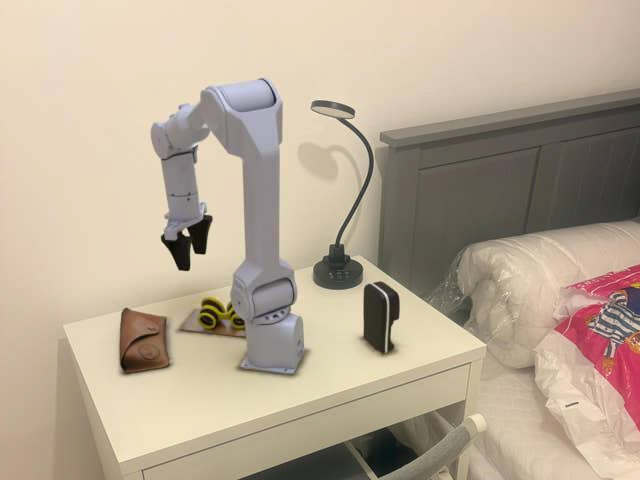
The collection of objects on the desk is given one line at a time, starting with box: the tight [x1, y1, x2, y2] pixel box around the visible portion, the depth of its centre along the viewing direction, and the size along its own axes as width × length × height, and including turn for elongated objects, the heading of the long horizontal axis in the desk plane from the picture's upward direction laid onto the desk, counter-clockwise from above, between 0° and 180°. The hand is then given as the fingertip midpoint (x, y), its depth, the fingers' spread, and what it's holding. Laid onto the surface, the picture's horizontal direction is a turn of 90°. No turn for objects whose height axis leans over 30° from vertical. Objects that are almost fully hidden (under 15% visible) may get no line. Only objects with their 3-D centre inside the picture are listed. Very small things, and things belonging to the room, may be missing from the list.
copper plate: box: [179, 308, 246, 339], centre depth 124 cm, size 13×8×1 cm, turn 76°
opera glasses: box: [198, 296, 245, 329], centre depth 122 cm, size 10×5×5 cm, turn 88°
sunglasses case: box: [119, 307, 171, 374], centre depth 117 cm, size 18×7×7 cm
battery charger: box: [362, 280, 401, 354], centre depth 113 cm, size 7×4×11 cm, turn 28°
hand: (192, 261), depth 125 cm, fingers open, 7 cm apart
